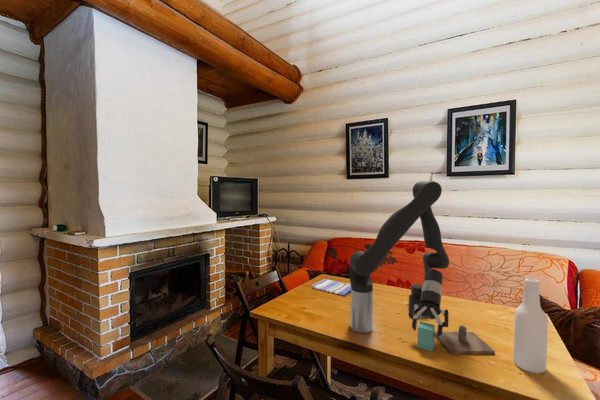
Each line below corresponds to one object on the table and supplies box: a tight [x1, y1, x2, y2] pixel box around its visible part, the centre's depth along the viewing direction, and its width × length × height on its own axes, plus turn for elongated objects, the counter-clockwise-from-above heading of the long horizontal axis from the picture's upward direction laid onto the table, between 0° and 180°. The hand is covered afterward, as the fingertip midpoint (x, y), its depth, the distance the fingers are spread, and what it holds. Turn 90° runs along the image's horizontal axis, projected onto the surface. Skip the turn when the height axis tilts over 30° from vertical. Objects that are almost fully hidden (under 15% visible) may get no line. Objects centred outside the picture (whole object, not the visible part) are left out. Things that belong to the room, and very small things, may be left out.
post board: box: [435, 325, 496, 355], centre depth 112 cm, size 16×14×7 cm
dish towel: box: [311, 278, 351, 297], centre depth 174 cm, size 17×24×3 cm
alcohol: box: [512, 277, 549, 375], centre depth 97 cm, size 9×9×30 cm
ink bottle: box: [408, 283, 423, 314], centre depth 143 cm, size 10×9×12 cm
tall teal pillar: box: [417, 321, 436, 352], centre depth 110 cm, size 5×5×8 cm
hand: (426, 332), depth 110 cm, fingers open, 8 cm apart
